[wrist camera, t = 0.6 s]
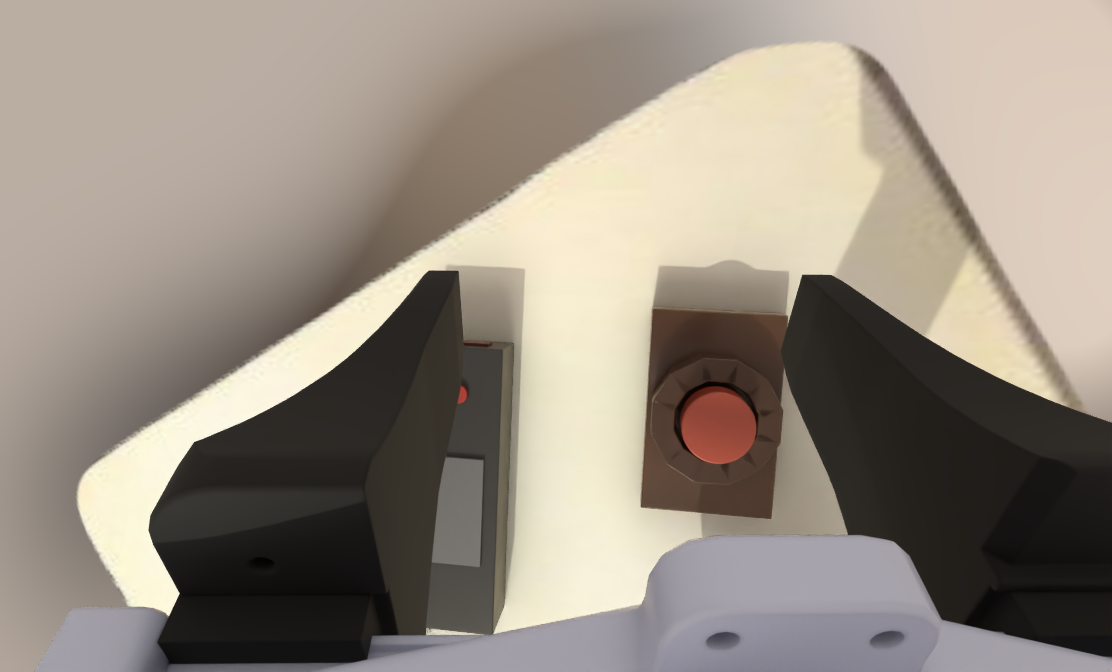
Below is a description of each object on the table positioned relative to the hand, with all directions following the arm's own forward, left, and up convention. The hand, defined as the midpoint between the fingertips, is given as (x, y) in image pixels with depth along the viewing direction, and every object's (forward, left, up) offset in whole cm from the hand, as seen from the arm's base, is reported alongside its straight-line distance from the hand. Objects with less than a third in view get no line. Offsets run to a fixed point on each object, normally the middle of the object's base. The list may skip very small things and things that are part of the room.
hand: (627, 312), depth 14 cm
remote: (-12, +9, -24) cm, 28 cm away
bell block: (-7, -4, -24) cm, 25 cm away
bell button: (-7, -4, -21) cm, 22 cm away
